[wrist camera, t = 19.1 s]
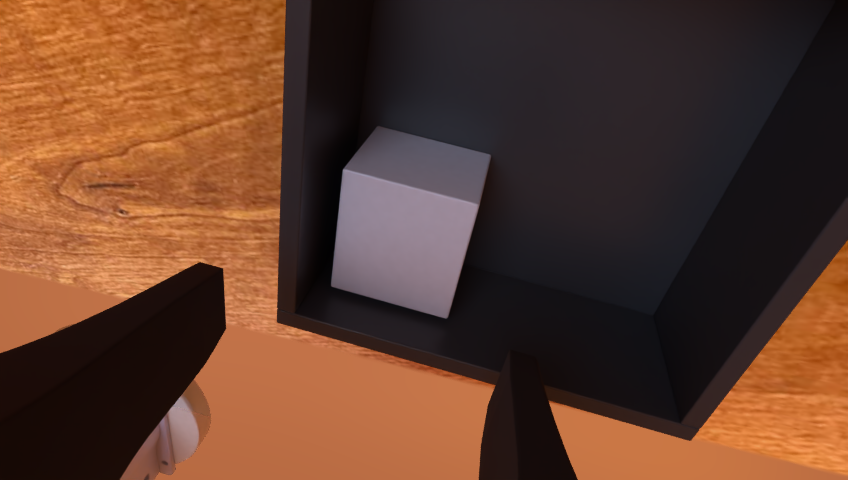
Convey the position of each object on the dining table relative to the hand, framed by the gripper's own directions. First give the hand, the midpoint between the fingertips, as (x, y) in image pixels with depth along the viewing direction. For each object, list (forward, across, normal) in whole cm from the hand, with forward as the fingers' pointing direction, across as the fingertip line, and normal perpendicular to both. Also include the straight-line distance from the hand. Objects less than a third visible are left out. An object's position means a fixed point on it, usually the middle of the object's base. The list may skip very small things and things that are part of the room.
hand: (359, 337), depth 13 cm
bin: (+8, -3, -4) cm, 9 cm away
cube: (+7, 0, 0) cm, 7 cm away
